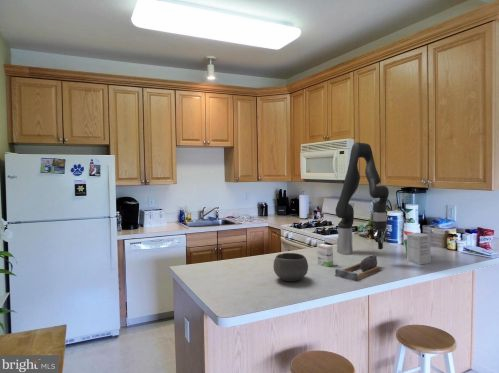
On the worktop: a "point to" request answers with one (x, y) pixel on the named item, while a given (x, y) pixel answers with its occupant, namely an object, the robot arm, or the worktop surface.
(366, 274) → the channel
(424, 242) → the supplement box
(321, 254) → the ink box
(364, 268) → the perforated stone tool
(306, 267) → the bowl
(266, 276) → the worktop surface
